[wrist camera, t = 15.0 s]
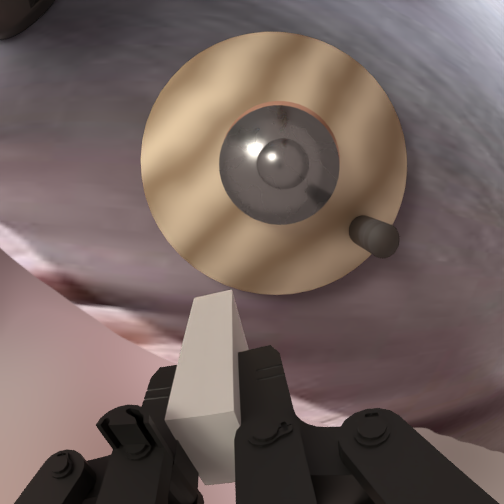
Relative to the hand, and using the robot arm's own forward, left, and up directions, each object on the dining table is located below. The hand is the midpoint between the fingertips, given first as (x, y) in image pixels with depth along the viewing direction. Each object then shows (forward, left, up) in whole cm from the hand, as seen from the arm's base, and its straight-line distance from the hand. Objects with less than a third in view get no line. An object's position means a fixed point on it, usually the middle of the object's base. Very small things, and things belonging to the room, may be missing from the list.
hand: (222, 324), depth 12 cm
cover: (-6, +5, -18) cm, 19 cm away
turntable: (-6, +6, -20) cm, 22 cm away
